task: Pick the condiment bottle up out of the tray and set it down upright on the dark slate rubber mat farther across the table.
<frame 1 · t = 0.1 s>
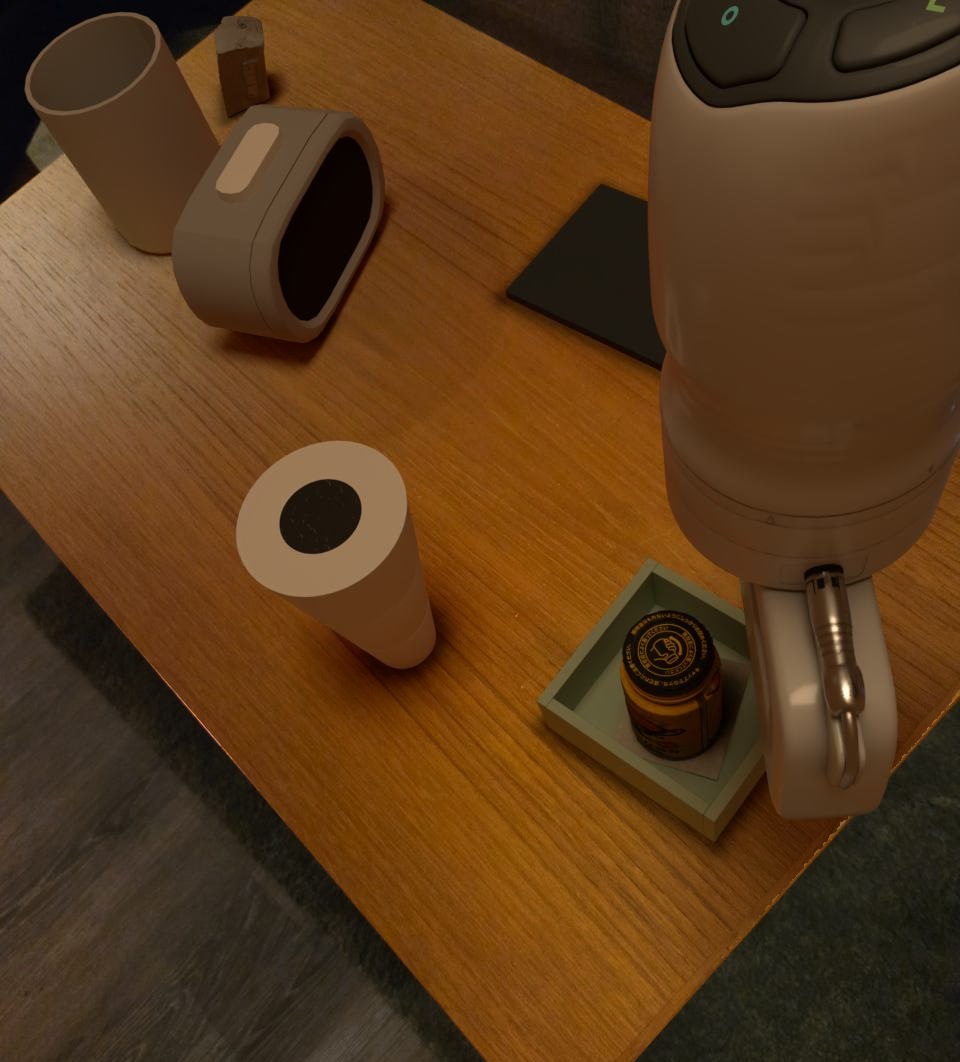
hand: (777, 626, 44), 23 cm above the table, tool pointing down, fingers open, 8 cm apart
tray: (681, 710, 67), on the table
mat: (638, 279, 83), on the table
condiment: (681, 709, 67), resting on tray
cup 2: (405, 640, 74), on the table
alarm clock: (313, 280, 92), on the table
cup: (173, 197, 101), on the table
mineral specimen: (257, 97, 105), on the table
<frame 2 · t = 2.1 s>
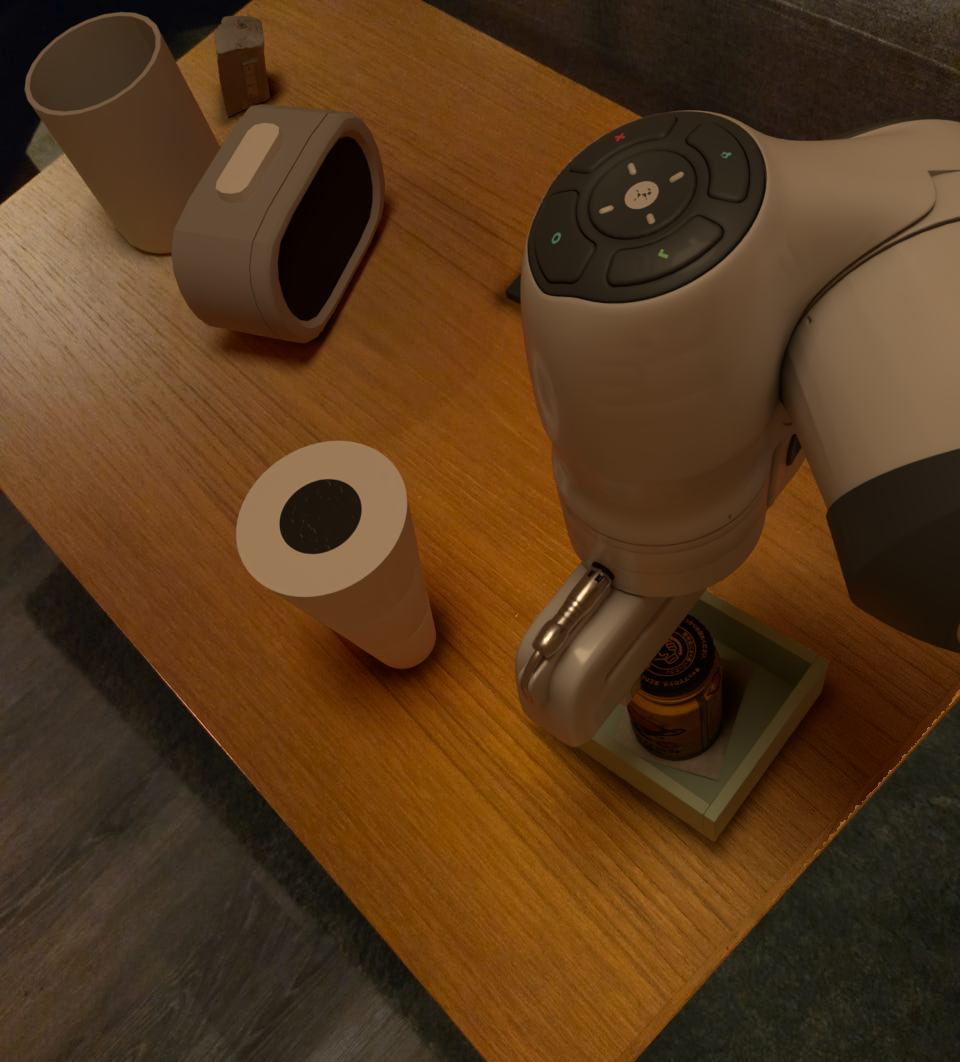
hand: (671, 625, 55), 14 cm above the table, tool pointing down, fingers open, 8 cm apart
nothing on the table moved.
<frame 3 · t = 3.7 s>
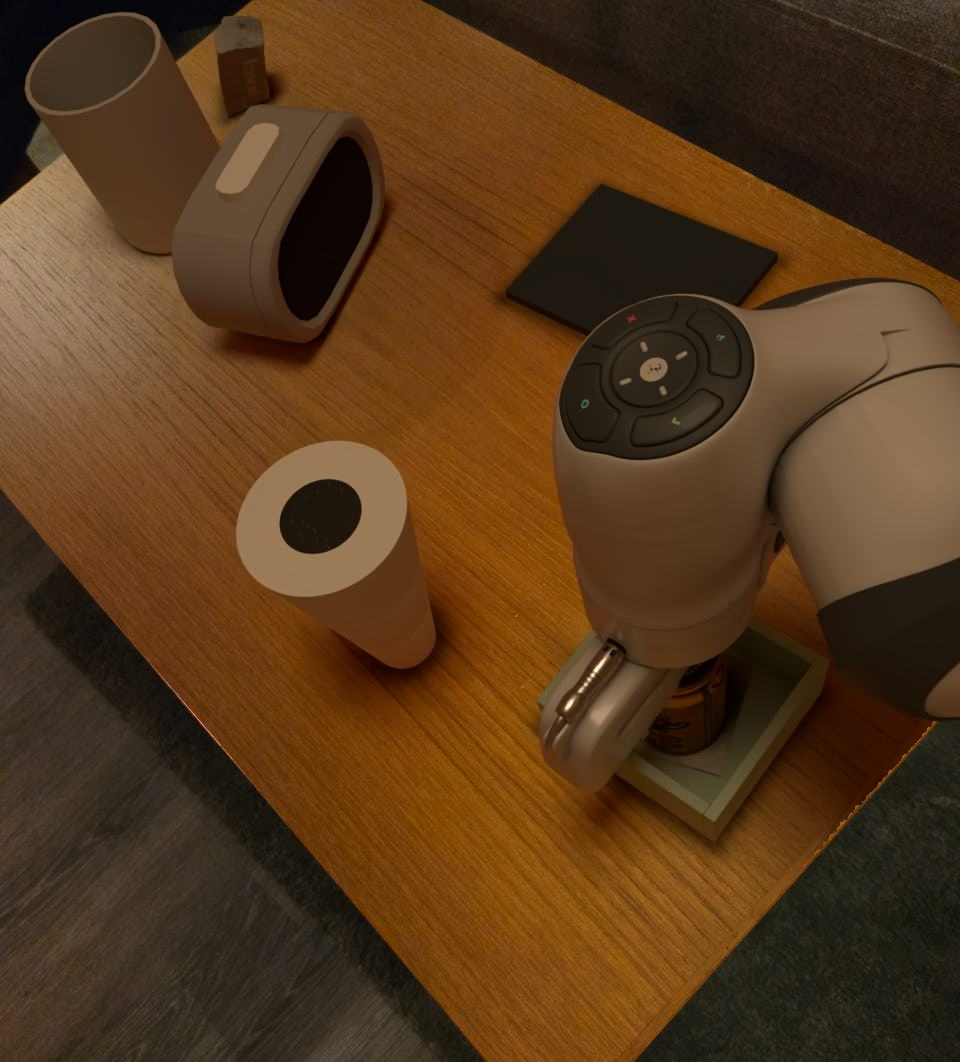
hand: (674, 679, 61), 6 cm above the table, tool pointing down, fingers closed on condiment, 6 cm apart
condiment: (684, 704, 67), resting on tray, touching gripper
everything else where it was.
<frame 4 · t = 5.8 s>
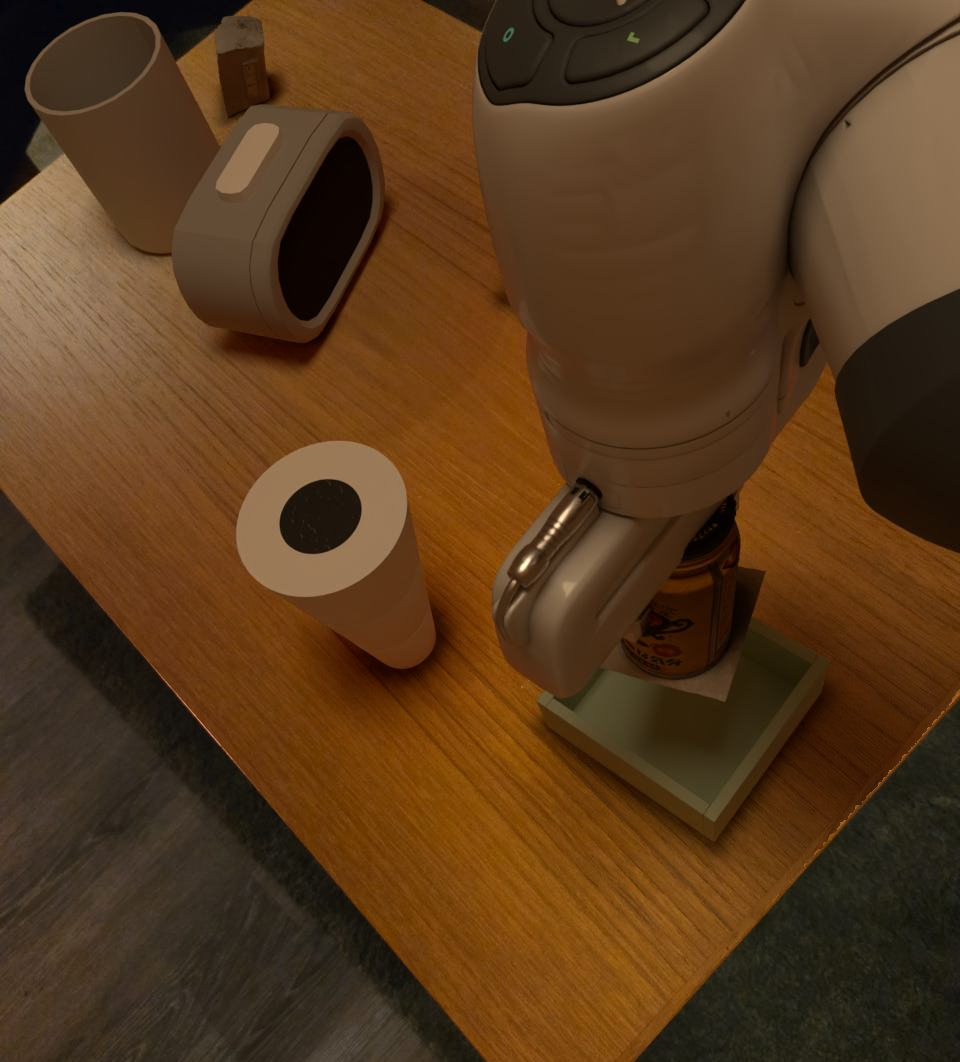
hand: (674, 568, 49), 20 cm above the table, tool pointing down, fingers closed on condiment, 6 cm apart
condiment: (680, 622, 55), point 14 cm above the table, touching gripper
everything else where it was.
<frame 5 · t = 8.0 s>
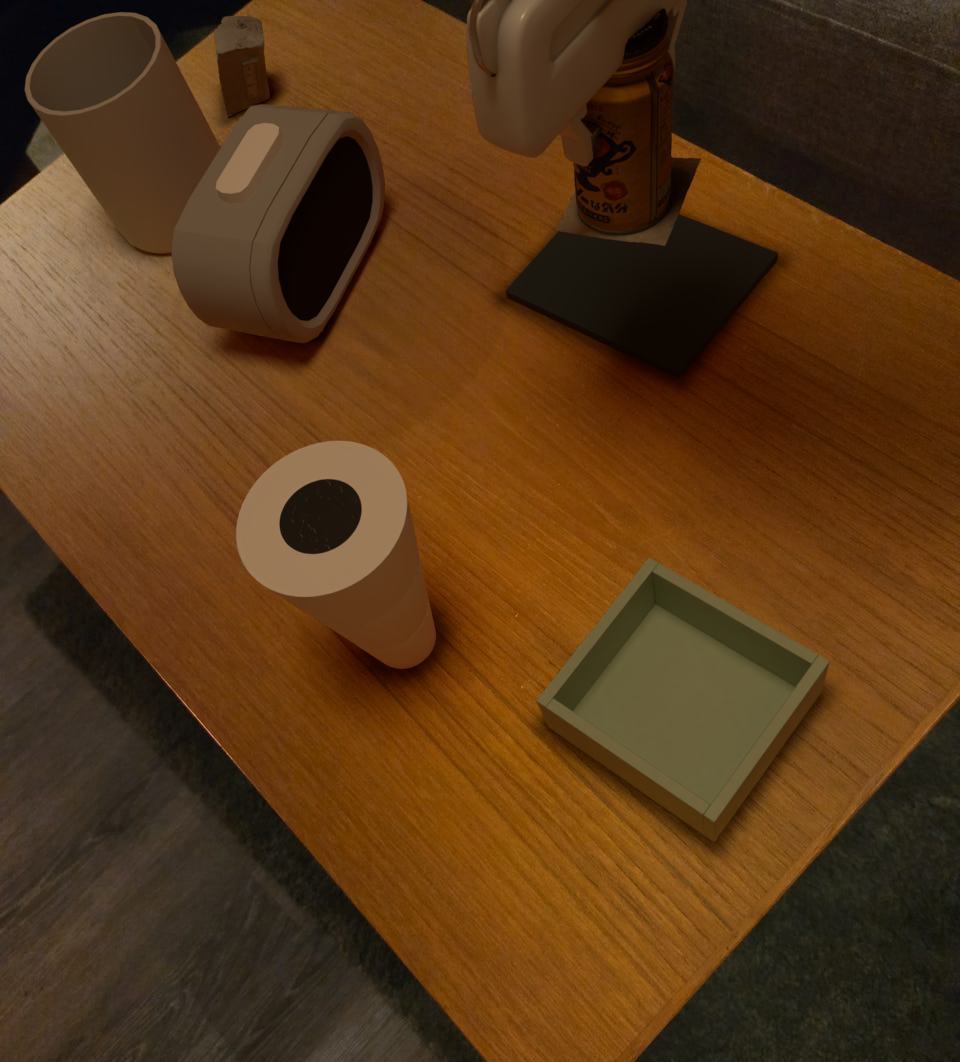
hand: (621, 114, 59), 23 cm above the table, tool pointing down, fingers closed on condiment, 6 cm apart
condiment: (628, 200, 64), point 17 cm above the table, touching gripper
everything else where it was.
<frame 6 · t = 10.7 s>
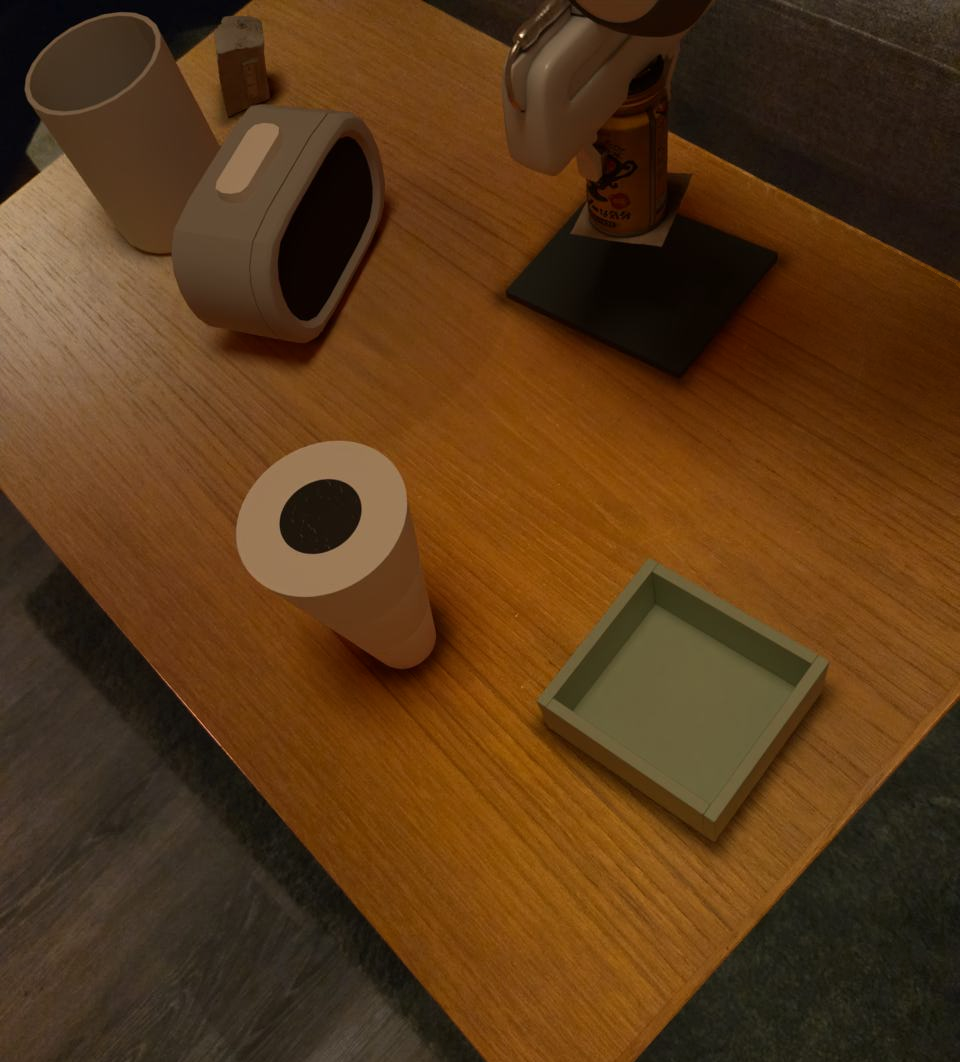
hand: (625, 138, 71), 14 cm above the table, tool pointing down, fingers closed on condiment, 6 cm apart
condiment: (632, 208, 77), point 8 cm above the table, touching gripper
everything else where it was.
when the fingers open (7 cm above the table, at t = 12.7 s): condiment stays where it is, resting on mat.
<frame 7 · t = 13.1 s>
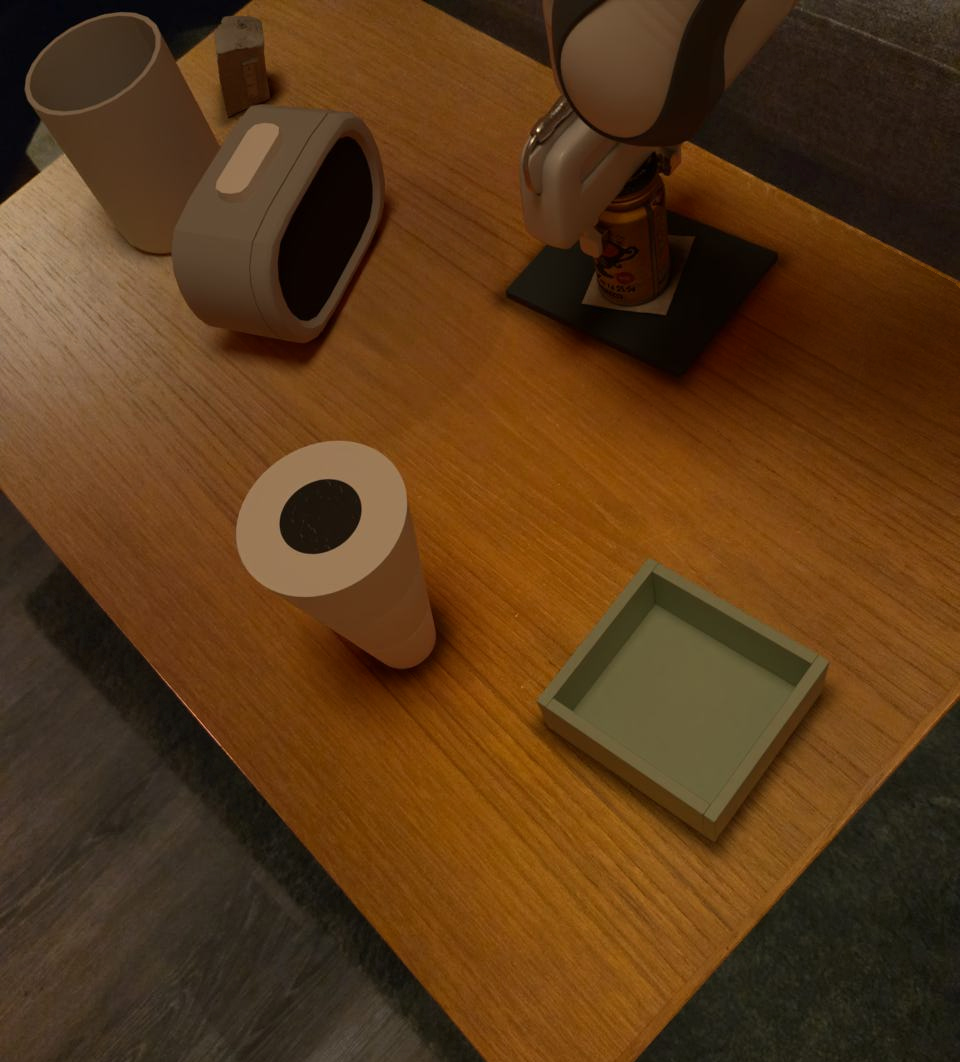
hand: (631, 208, 77), 8 cm above the table, tool pointing down, fingers open, 8 cm apart
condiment: (638, 274, 83), point 1 cm above the table, touching mat
everything else where it was.
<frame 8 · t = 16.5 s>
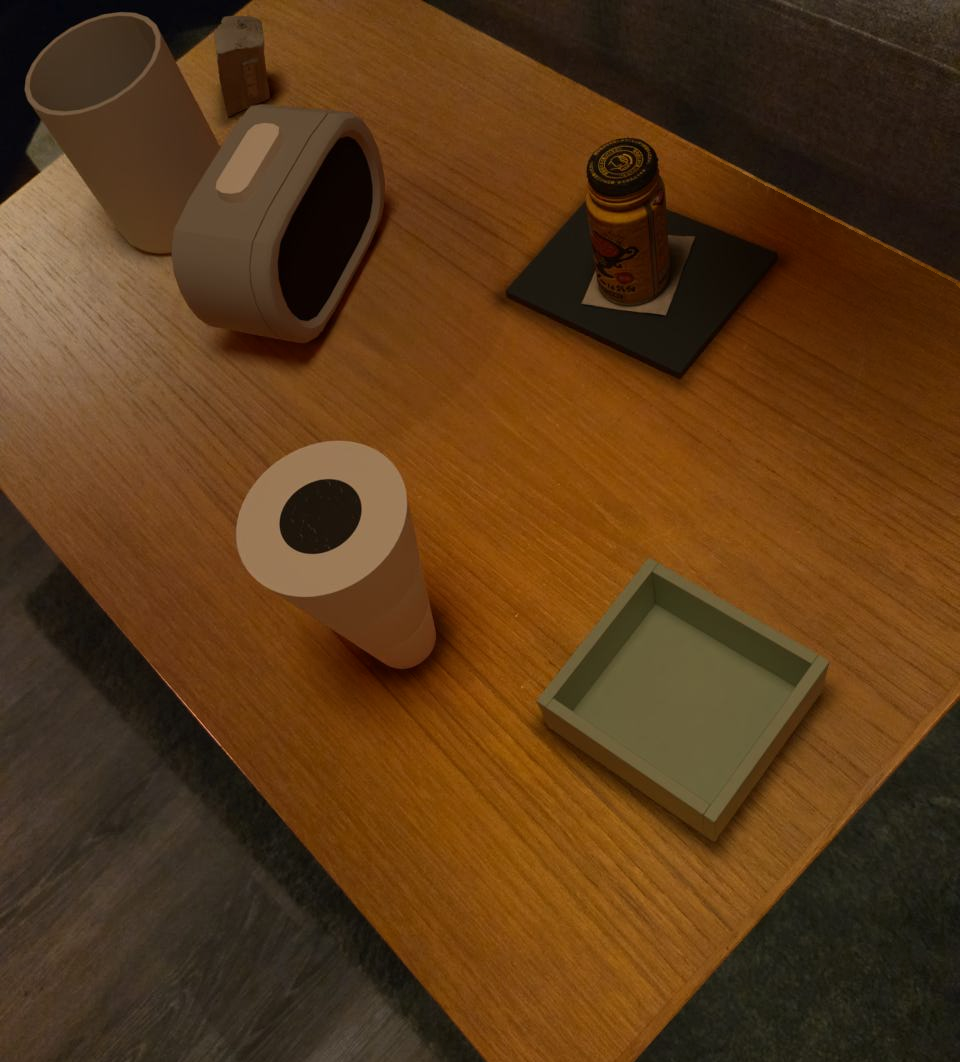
nothing on the table moved.
at the end: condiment inside the target area on the mat (0.1 cm from its centre), point 0.6 cm above the mat's base; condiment tilted 0° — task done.
